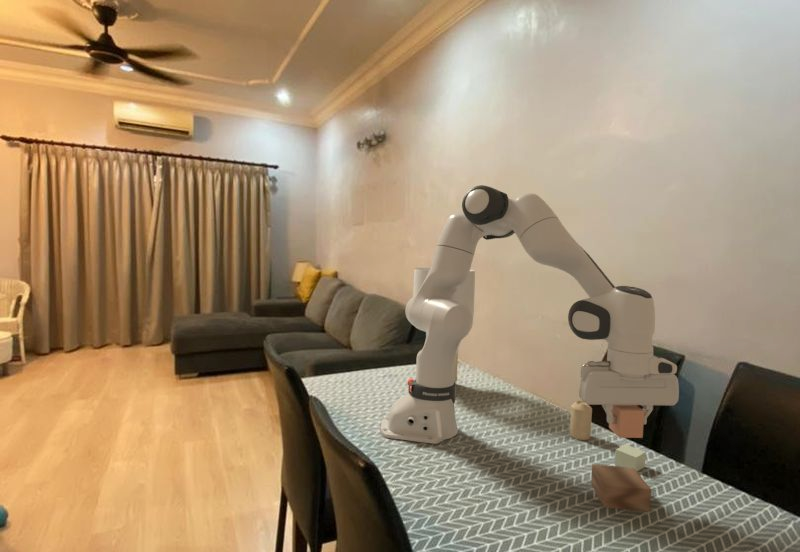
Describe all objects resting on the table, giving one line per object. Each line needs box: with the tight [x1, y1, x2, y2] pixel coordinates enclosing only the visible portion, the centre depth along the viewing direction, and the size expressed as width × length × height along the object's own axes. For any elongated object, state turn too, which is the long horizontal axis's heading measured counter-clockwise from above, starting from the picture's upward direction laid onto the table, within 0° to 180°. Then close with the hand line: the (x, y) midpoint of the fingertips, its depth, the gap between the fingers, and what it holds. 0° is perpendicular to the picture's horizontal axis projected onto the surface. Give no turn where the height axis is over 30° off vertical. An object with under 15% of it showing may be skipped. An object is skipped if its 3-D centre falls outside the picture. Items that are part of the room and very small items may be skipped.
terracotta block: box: [608, 405, 645, 439], centre depth 98 cm, size 5×5×6 cm
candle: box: [569, 400, 593, 441], centre depth 128 cm, size 6×6×10 cm
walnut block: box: [590, 464, 652, 512], centre depth 97 cm, size 9×9×5 cm
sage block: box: [614, 444, 647, 472], centre depth 111 cm, size 5×5×4 cm
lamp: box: [412, 267, 476, 383], centre depth 169 cm, size 23×23×44 cm
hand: (626, 423), depth 98 cm, fingers closed on terracotta block, 5 cm apart
